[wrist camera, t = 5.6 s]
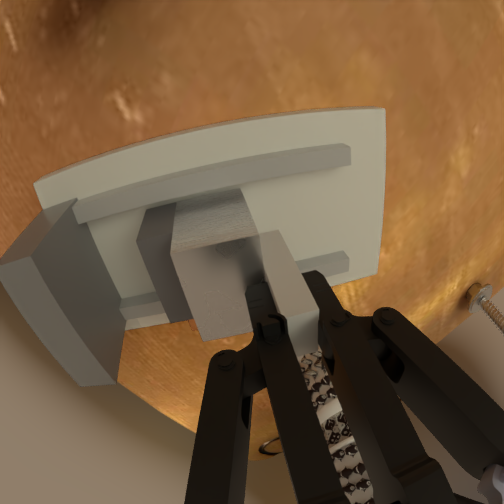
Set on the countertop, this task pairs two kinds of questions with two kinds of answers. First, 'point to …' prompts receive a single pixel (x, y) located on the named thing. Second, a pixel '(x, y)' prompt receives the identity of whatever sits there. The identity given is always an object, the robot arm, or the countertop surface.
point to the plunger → (217, 261)
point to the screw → (484, 304)
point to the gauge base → (182, 188)
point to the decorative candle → (336, 431)
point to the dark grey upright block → (163, 262)
